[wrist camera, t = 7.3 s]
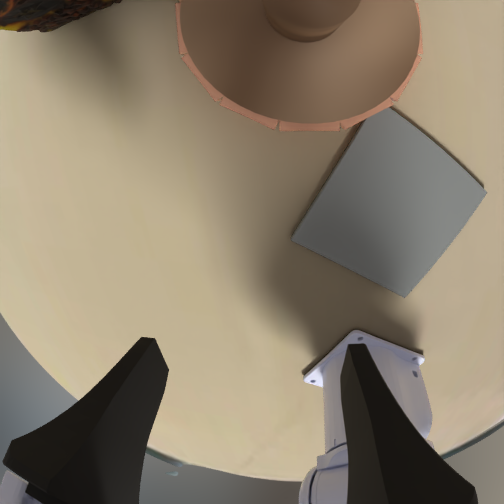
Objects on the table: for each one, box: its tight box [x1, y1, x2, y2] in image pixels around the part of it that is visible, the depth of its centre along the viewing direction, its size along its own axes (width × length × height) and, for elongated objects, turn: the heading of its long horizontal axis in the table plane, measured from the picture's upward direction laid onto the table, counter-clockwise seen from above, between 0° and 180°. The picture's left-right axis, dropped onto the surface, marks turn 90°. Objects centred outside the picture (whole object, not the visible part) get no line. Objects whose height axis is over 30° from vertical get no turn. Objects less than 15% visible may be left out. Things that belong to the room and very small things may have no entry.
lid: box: [180, 0, 420, 124], centre depth 8 cm, size 10×10×5 cm
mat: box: [291, 107, 487, 298], centre depth 17 cm, size 10×10×1 cm
